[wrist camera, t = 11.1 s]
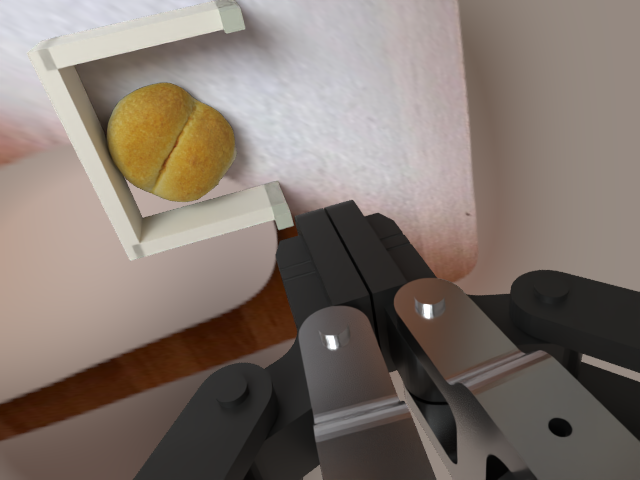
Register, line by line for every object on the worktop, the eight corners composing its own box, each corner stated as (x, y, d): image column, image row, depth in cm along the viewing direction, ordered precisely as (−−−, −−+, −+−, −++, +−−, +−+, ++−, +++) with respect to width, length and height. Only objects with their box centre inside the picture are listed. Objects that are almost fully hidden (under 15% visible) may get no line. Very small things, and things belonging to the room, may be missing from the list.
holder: (41, 40, 32) (19, 58, 27) (231, -4, 33) (240, 7, 28) (133, 234, 40) (128, 272, 36) (280, 193, 42) (293, 225, 37)
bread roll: (140, 59, 34) (136, 73, 31) (248, 126, 38) (255, 145, 35) (87, 155, 36) (78, 177, 33) (194, 208, 41) (196, 232, 38)
